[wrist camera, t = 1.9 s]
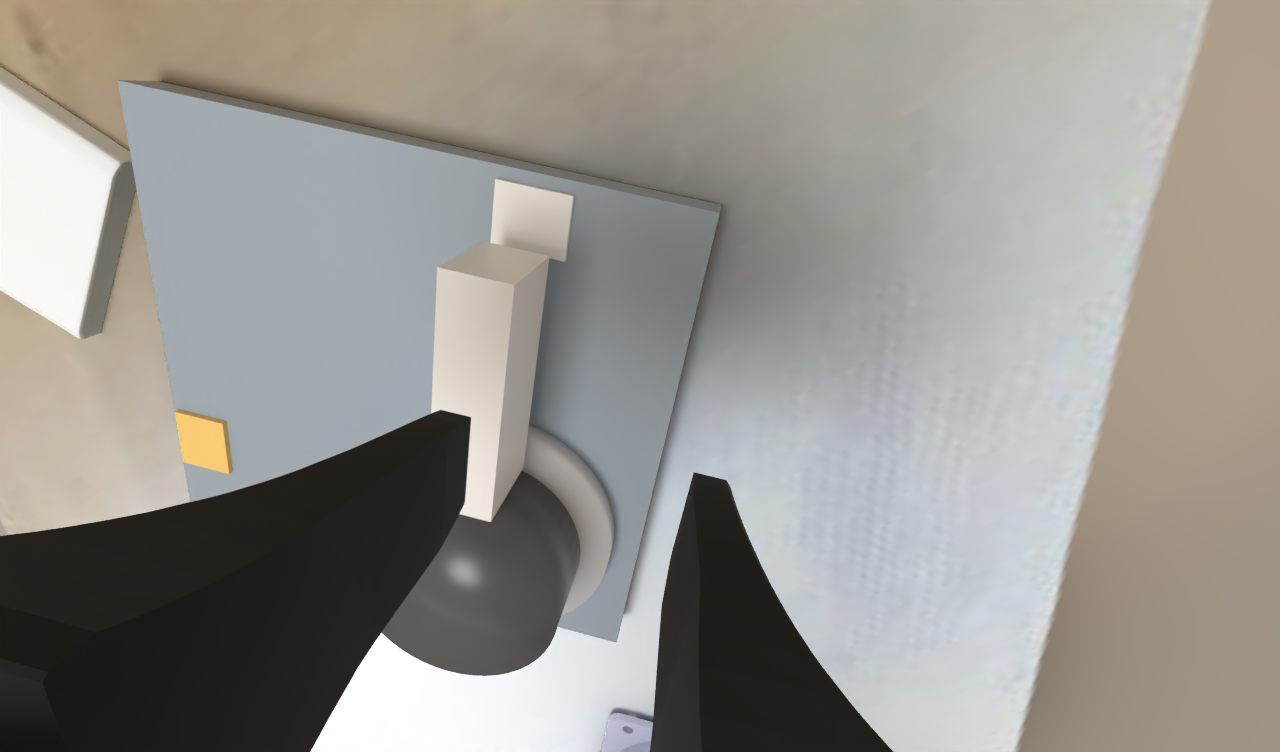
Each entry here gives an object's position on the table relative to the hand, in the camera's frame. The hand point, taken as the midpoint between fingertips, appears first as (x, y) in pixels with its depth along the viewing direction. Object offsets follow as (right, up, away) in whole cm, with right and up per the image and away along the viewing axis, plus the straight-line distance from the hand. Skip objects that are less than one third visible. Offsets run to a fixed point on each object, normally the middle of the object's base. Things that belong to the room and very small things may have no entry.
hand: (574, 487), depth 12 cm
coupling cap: (-4, -1, +9) cm, 10 cm away
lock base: (-7, +2, +12) cm, 14 cm away
